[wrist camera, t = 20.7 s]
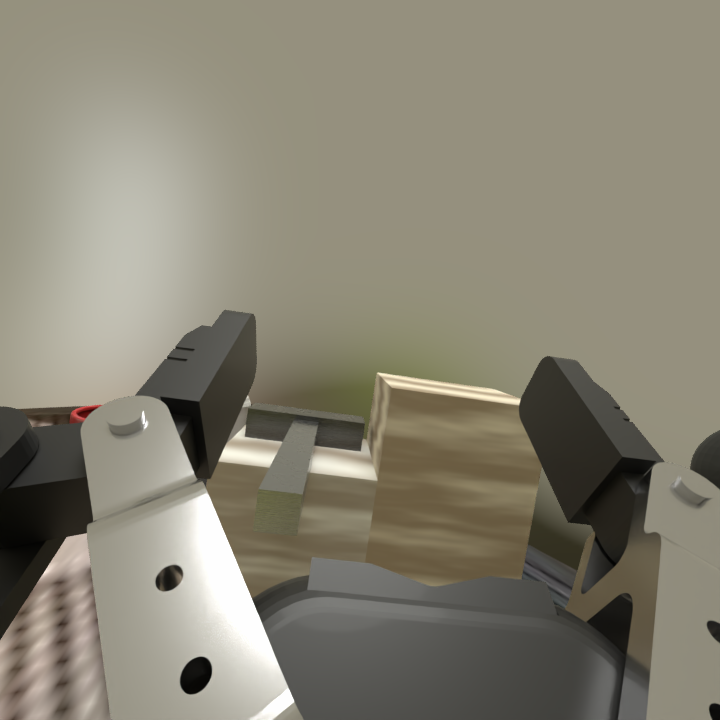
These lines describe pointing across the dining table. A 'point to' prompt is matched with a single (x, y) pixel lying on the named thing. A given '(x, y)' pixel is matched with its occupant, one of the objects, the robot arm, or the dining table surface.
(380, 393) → the step stand
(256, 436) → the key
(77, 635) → the dining table surface
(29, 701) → the dining table surface
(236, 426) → the coffee cup
